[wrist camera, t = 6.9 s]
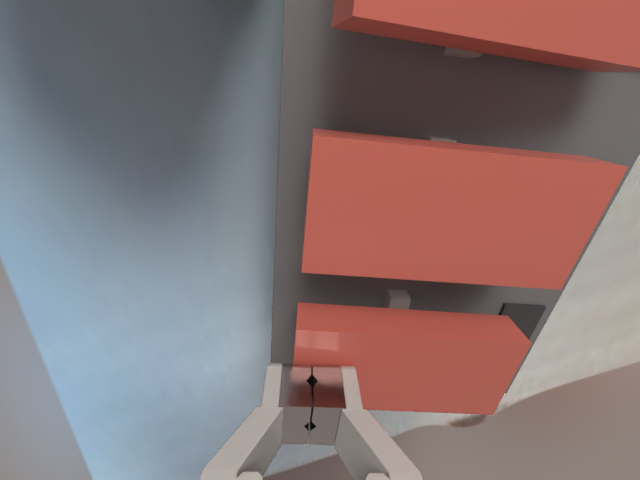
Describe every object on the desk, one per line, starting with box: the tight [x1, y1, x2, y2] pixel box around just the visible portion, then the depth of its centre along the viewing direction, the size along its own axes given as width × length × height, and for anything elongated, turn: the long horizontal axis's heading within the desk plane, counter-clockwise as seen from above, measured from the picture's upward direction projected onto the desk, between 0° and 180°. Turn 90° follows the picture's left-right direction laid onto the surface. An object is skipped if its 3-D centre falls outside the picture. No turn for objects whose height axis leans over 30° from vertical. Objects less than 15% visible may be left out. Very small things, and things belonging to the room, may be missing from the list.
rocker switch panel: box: [271, 0, 640, 393], centre depth 12 cm, size 12×20×5 cm, turn 174°
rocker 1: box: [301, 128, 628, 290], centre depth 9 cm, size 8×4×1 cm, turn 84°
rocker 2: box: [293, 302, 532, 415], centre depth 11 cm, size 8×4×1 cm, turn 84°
